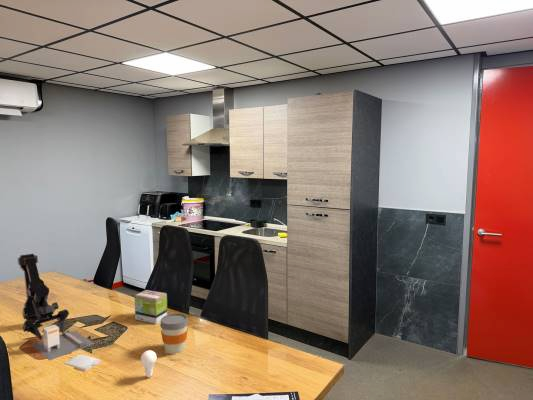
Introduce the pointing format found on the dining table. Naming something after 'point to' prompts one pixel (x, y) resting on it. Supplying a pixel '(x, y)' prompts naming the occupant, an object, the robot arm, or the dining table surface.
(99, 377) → the dining table surface
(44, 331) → the block
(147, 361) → the lightbulb
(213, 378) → the dining table surface
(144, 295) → the tea box
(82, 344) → the rail
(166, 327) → the reusable coffee cup
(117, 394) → the dining table surface
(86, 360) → the hard drive
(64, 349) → the mounting plate
